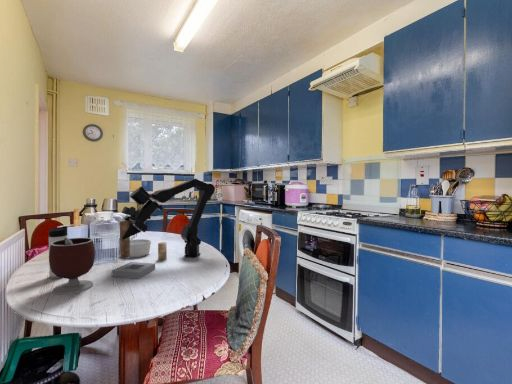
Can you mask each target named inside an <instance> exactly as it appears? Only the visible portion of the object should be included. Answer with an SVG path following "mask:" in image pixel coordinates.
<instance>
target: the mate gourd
mask: <svg viewBox="0 0 512 384" xmlns="http://www.w3.org/2000/svg"><path fill="white" fill-rule="evenodd" d="M95 248H96V247H95V243H94V239H93V238H91V237H72V238H69V237H68V238H64V239H63V240H58V241H54V242H52V243H51V246H50V250H49V249H48V264H50V268H51V271H52V272H53V273H54V274H55V275H56V276H57V277H60V278H59V279H67V280H68V281H67V282H63V283H60V284H59V285H56V286H54V287H53V288H52V293H53V294H54V295H57V296H58V295H59V296H66V295H67V296H68V295H74V294H78V293H82V292H86V291H88V290H89V289H91V288H92V287H93V286H94V283H93V281H92V280H89V279H88V280H87V279H82V280H81V279H79V278H80V277H82V276H84V275H86V274H88V273H89V272H90V271H91V269H92V268H93V266H94V263H95V260H96V259H95V258H96V249H95Z"/></svg>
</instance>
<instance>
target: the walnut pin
mask: <svg viewBox="0 0 512 384" xmlns="http://www.w3.org/2000/svg"><path fill="white" fill-rule="evenodd" d="M128 228H129V221H125V220H120V221H119V236H120V237H119V258H121V259H127V258H131V257H130V240H131V239H130V237H128V238H126V239H124V240H123V239H122V237H123V235H124V234H125V233H126V231H127V230H128Z"/></svg>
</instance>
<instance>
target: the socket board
mask: <svg viewBox="0 0 512 384" xmlns="http://www.w3.org/2000/svg"><path fill="white" fill-rule="evenodd" d="M154 270H156V263H152V262H140V261H139V262H138V261H130V262H127V263H126V264H122V265H120V266H119V267H116V268H114V269H112V270H111V271H112V272H111V275H112V276H111V277H114V278H115V277H116V278H128V279H140V278H143V277H144V276H146V275H147V274H149V273H151V272H154Z"/></svg>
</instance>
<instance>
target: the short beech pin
mask: <svg viewBox="0 0 512 384" xmlns="http://www.w3.org/2000/svg"><path fill="white" fill-rule="evenodd" d="M167 250H168V249H167V242H165V241H161V242H158V243H157V260H158V261H165V260H167V258H168V257H167V252H168V251H167Z"/></svg>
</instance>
